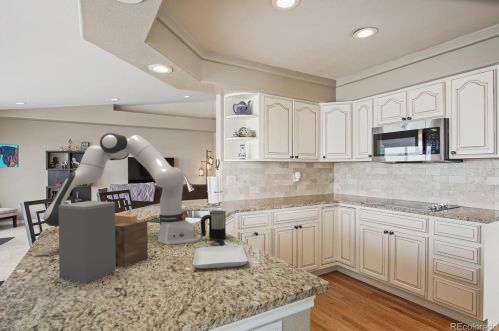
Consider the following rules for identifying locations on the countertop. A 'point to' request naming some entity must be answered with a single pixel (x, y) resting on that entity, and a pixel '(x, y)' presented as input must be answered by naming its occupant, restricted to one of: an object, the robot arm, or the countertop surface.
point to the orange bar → (125, 218)
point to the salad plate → (219, 257)
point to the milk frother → (215, 226)
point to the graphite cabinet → (86, 240)
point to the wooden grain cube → (131, 242)
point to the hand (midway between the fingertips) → (102, 213)
